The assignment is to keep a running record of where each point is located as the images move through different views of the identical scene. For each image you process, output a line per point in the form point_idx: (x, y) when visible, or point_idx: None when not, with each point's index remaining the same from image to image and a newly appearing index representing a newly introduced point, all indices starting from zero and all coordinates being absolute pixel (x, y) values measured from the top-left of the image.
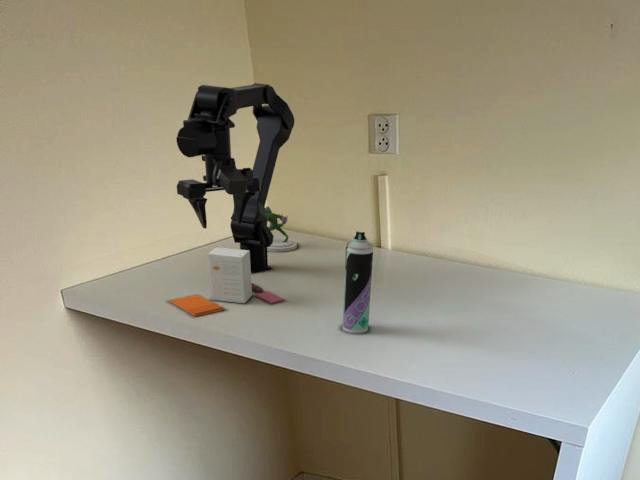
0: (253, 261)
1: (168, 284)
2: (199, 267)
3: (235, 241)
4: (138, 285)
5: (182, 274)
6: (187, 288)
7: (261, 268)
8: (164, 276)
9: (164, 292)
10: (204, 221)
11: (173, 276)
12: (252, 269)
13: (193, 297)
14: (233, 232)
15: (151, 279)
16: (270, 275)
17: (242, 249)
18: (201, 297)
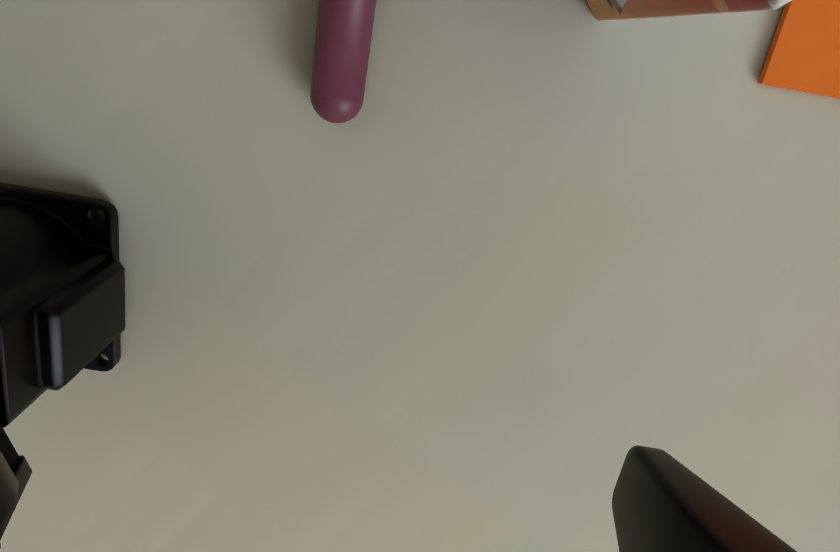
0: (32, 244)
1: (688, 381)
2: (325, 489)
3: (24, 466)
4: (813, 469)
5: (491, 459)
6: (671, 251)
7: (7, 198)
8: (592, 493)
9: (827, 287)
10: (741, 519)
11: (556, 464)
12: (81, 225)
13: (829, 52)
14: (13, 494)
15: None
16: (16, 69)
17: (33, 367)
18: (794, 9)
